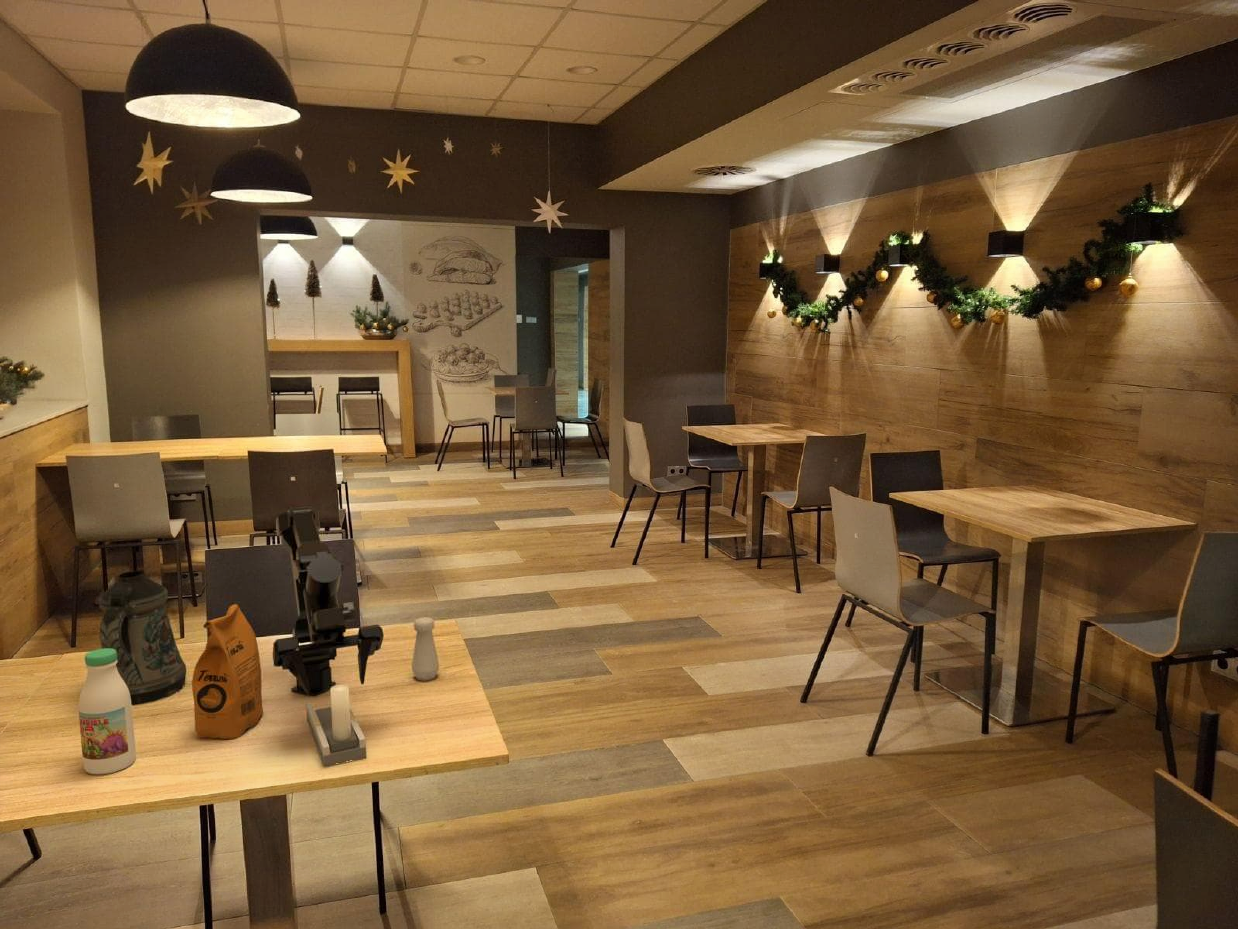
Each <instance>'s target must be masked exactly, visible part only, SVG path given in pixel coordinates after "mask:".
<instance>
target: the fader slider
mask: <svg viewBox="0 0 1238 929" xmlns="http://www.w3.org/2000/svg"><path fill="white" fill-rule="evenodd" d="M329 689H330V705H331V706H330V707H331V711H332V731H333V734H331V735H327V742H328V744H329V749H330V751H331V752H336V751H341V750H345V749H350V748H355V747H358V745H357V738H356V736H355V734H354V731H353V730H351V724H350V709H351V707H350V687H349V684H336V685H334V686H333V687H331V688H329Z"/></svg>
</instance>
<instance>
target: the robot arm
mask: <svg viewBox="0 0 1238 929" xmlns="http://www.w3.org/2000/svg"><path fill="white" fill-rule="evenodd" d="M276 516H277V517H276V520H275V528H276V536H277V537H279V538H280V545H281V547H282V548H283V549H284V550H285V551H286V552H287V553H288V554H289V555H290V562H291V568H292V570H291V571H292V575H293V576H292V577H293V585H294V592H295V593H294V594H295V600H296V609H297V616H298V617H297V619H296V621H295V624H294V625H293V629H292V636H290V637H284V638H277V639H275V641H274V642H273V643H272V645H273V647H272V661H273V662H272V663H273V667H277V668H280V667H281V668H282V670H284V671H285V670H289V672H290V673H291V674H292V675H293V676H294V678H295V679H296V685H295V686H293V687H291V692H295V693H299V694H304V695H310V696H318V695H319V694H322V693H323V692H325V691H327V690H329V689H331V687H333V686H335V685H337V682H336V681H333V680H332V667H331V664H330V661H335V660H336V657H338V655H337V654H338V653H337V649H343V648H348V647H355V646H357V647H356V648H357V650H358V652H357V663H358V673H359V674H358V675H359V676H358V677H359V682H360V684H361V685H364V684H365V680H366V672H367V665H368V661H369V660H368V659H369V657H370V656H371V657H372V656H374V655H375V652H377V651H379V650H381V648H382V645H383V641H384V631H383V627H381V625H379V624H373V625H372V624H371V625H365V626H359V627H358V633H357V634H352V635H346V636H345V634H344V633H346V630H347V628H346V625H347V624H346V622H353V621H355V619H356V609H355V604H354V602H353V601H352V602H344V603H342V604H341V607H339V601H338V600H339V599H338V597H337V596H338V595H337V593H338V590H339V587H340V582H341V576H342V572H343V571H344V566H343V564H342V563H341V562H340V560H339V559H338V558H337V556H336V555H334V554H333V551H332V549H331V548H330V546H329V545H327V544H325V543H323V542H322V540H321V538H320V534H319V531H320V529H321V524H320V514H319V512H318V511H316V510H315V508H314V507H311V506H304V507H303V506H300V507H291V509H288V510H287V512H284V513H281V514H278V515H276Z"/></svg>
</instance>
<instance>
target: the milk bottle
mask: <svg viewBox="0 0 1238 929" xmlns="http://www.w3.org/2000/svg"><path fill="white" fill-rule="evenodd" d="M84 662H85V668H86V669H87V673H86V674H87V675H86V679H85V682H84V685H83V687H82V689H81V692H80V695H79V698H78V718H79V722H78V723H79V731H80V732H79V733H80V745H81V753H82V763H83V769H84V771H85V772H87V773H88V774H90V773H91V774H90V775H106V774H112V773H115V772H119V771H122V770H123V769H126V768H128V767H130V766H131V765H132V764H133V763H134V762H135V761H136V759H137V753H136V740H135V739H136V737H135V729H134V728H135V726H134V716H133V705H132V704H131V697H130V692H129V690H128V687H127V685H126V684H125V682H124V681H123V679H122V678H121V676H120V674H119V672H118V670H117V667H116V663H117V662H118V661H117V652H116V650H115V649H111V648H105V649H101V648H98V649H95V650H91V651H88V652H87V653H86V654H85V655H84Z"/></svg>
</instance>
